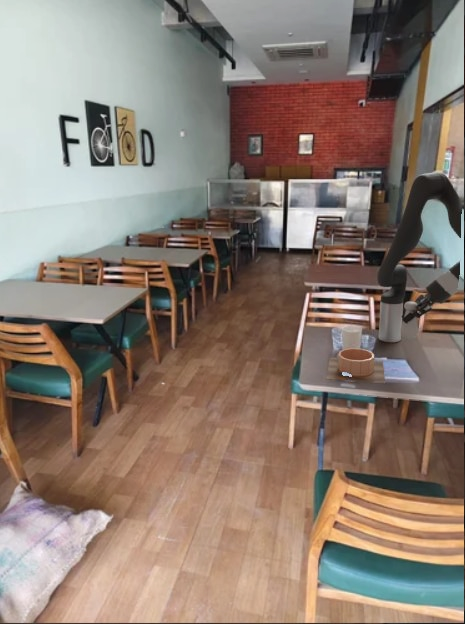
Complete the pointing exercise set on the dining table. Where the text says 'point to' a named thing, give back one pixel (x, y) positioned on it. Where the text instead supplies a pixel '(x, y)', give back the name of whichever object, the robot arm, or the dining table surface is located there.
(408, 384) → the dining table surface
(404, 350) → the dining table surface
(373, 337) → the dining table surface
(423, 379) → the dining table surface
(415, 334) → the salt shaker
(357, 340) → the white cup
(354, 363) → the wooden bowl
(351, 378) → the walnut board
